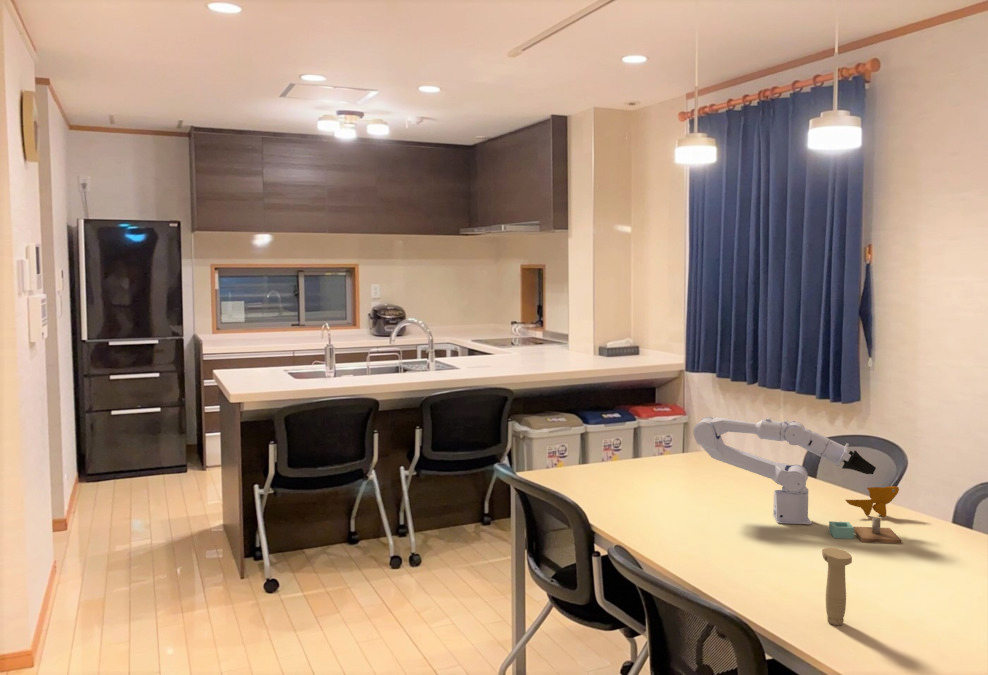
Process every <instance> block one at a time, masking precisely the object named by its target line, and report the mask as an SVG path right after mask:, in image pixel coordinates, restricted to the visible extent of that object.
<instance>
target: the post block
mask: <svg viewBox="0 0 988 675" xmlns="http://www.w3.org/2000/svg"><path fill="white" fill-rule="evenodd" d="M871 520H872V521H871V522H872V525H871V526H853V527H854V535H855V534H856V535H855V536H856V537H857V538H858V540H860V542H861V543H872V542H882V543H881V544H897V543H902V541H903V540H902V539H901V538H900V536H898V535H897V534H896V533H895V531H894V530H892V529H891V528H890V527H881V521H882V520H881V518H880V517H872V519H871Z"/></svg>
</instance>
